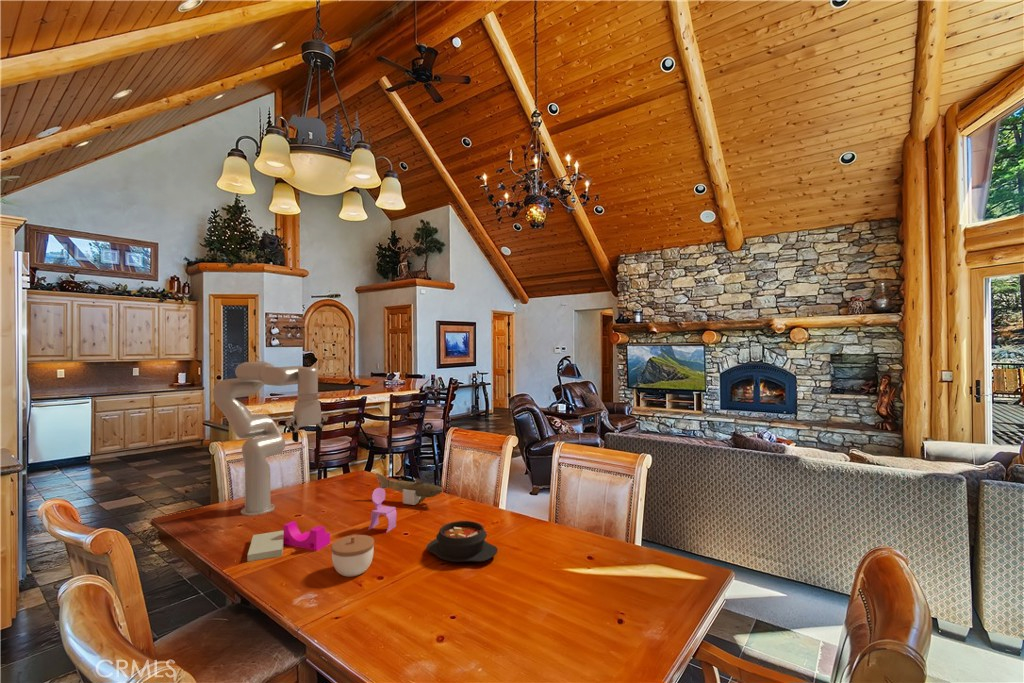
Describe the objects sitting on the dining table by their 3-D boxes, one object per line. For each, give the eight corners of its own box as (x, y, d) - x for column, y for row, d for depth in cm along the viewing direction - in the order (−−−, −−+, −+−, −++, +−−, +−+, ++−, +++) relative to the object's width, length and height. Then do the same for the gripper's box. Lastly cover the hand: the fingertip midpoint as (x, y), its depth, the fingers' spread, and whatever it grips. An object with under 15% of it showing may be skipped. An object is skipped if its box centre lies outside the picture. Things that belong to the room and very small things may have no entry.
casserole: (507, 549, 157) (506, 525, 157) (481, 574, 140) (480, 547, 140) (445, 536, 167) (445, 513, 167) (414, 558, 150) (414, 533, 150)
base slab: (253, 544, 162) (253, 535, 162) (284, 539, 166) (284, 530, 166) (247, 566, 147) (247, 555, 147) (282, 559, 151) (281, 549, 151)
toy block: (330, 545, 161) (329, 524, 161) (316, 553, 155) (316, 531, 155) (297, 539, 166) (297, 518, 166) (283, 546, 160) (283, 525, 160)
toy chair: (386, 533, 170) (386, 493, 170) (366, 530, 173) (366, 491, 173) (398, 525, 178) (398, 487, 178) (379, 522, 180) (379, 485, 180)
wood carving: (382, 493, 215) (382, 470, 215) (447, 502, 202) (447, 477, 202) (370, 499, 207) (370, 475, 207) (436, 509, 194) (436, 483, 194)
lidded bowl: (382, 566, 145) (382, 531, 145) (356, 586, 133) (356, 548, 133) (349, 560, 149) (349, 526, 149) (322, 579, 137) (322, 542, 137)
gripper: (323, 394, 194) (322, 435, 194) (281, 398, 180) (281, 441, 180) (332, 396, 189) (332, 437, 189) (290, 400, 175) (290, 444, 175)
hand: (307, 439), depth 185 cm, fingers open, 9 cm apart
